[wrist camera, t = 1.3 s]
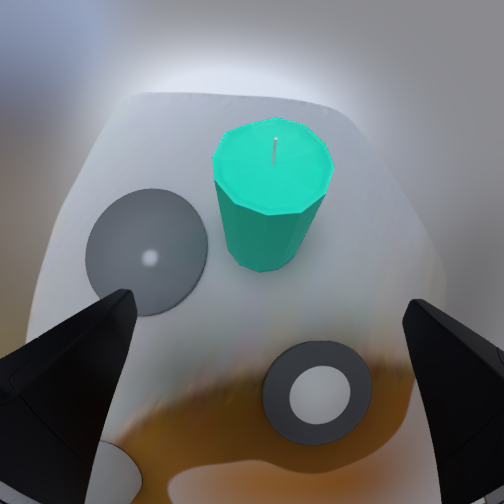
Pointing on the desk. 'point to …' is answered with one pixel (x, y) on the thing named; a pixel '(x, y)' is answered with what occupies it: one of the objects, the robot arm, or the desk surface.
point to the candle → (269, 189)
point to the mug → (113, 477)
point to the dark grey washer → (316, 392)
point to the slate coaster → (147, 249)
